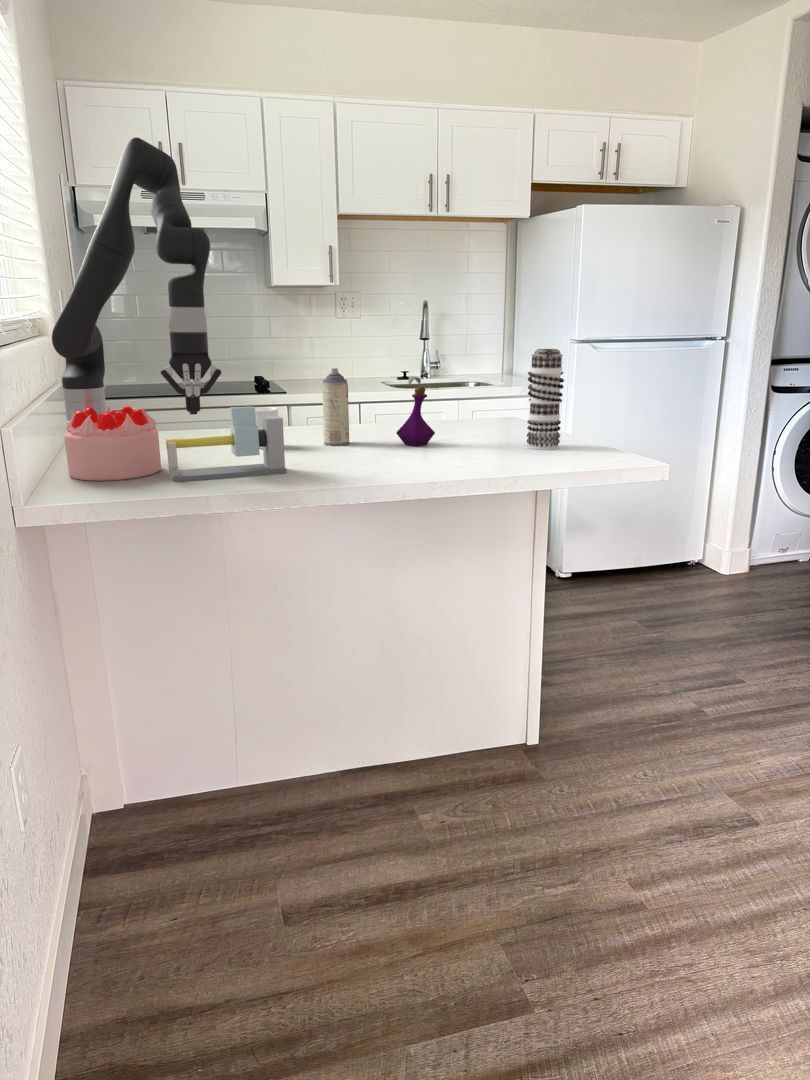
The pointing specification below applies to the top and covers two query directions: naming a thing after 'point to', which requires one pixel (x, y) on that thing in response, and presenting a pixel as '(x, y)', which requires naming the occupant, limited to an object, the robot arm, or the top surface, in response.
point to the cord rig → (268, 439)
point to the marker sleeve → (244, 431)
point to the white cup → (264, 412)
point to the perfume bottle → (416, 421)
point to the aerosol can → (335, 409)
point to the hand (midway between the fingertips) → (193, 413)
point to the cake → (112, 445)
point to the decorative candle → (545, 399)
